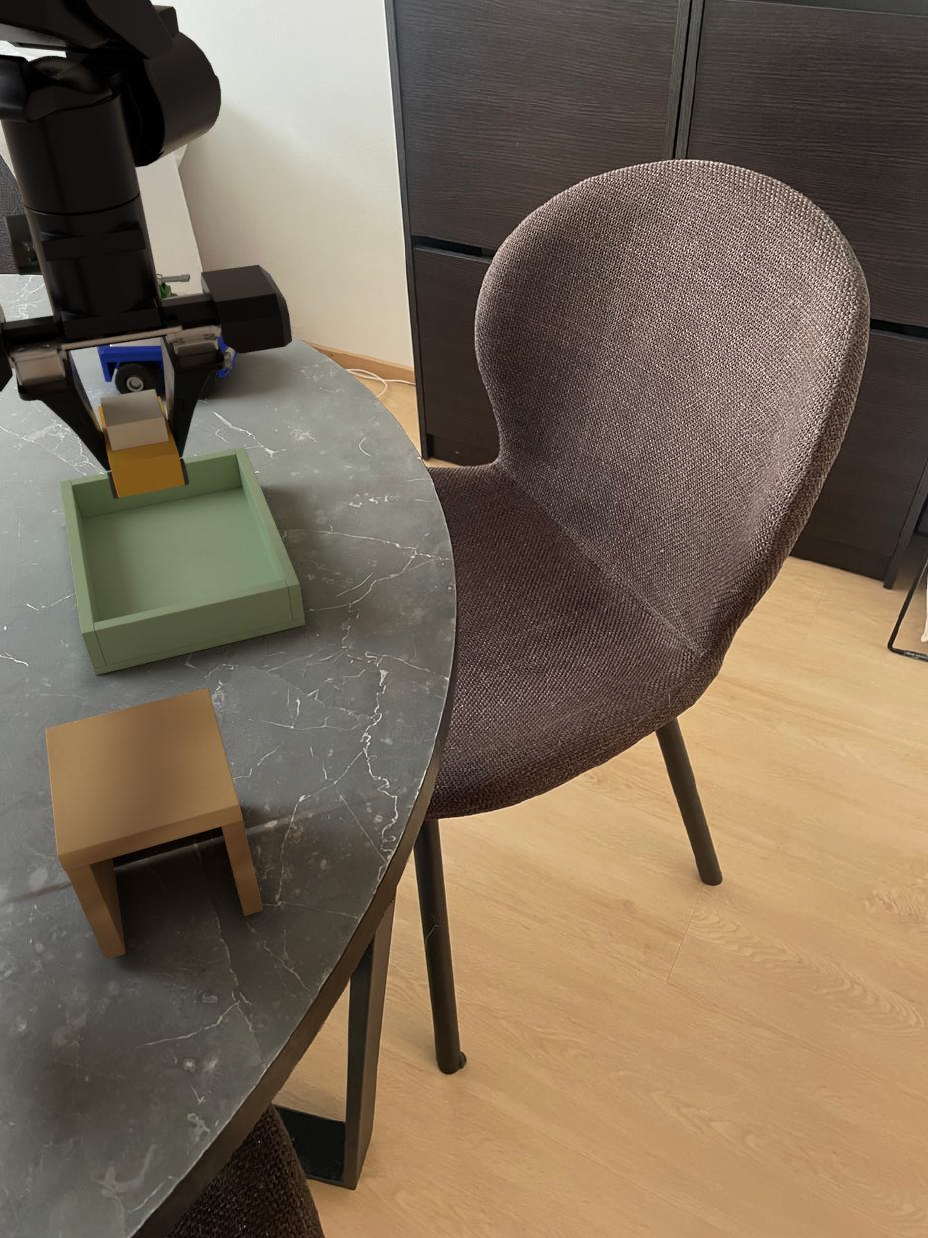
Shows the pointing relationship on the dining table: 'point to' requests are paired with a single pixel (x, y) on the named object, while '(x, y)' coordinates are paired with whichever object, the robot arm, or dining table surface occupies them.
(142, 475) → the small car
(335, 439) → the dining table surface
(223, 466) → the green box
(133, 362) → the toy car
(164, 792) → the oak stand
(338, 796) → the dining table surface
